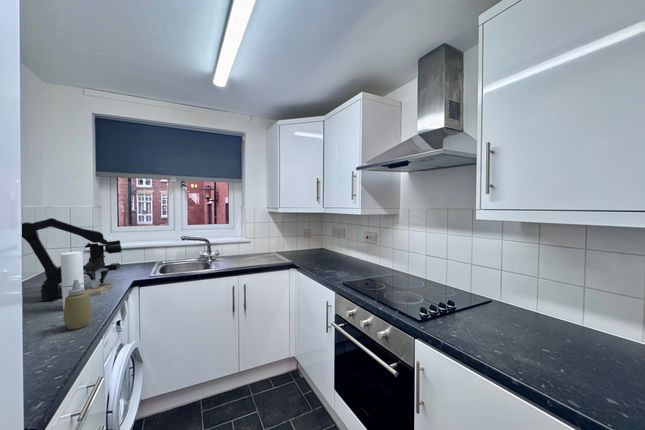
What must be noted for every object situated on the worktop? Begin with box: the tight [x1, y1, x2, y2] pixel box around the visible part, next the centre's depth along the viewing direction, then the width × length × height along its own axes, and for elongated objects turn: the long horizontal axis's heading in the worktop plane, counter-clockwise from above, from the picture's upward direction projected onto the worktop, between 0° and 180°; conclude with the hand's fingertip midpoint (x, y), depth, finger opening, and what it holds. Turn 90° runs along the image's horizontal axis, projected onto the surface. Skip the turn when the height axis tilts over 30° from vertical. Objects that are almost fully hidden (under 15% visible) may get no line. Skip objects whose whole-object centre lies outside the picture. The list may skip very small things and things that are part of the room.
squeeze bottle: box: [63, 280, 93, 330], centre depth 101 cm, size 8×8×18 cm
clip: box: [90, 275, 106, 289], centre depth 142 cm, size 8×3×6 cm, turn 19°
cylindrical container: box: [60, 251, 85, 311], centre depth 119 cm, size 7×7×25 cm
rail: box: [85, 281, 113, 297], centre depth 142 cm, size 14×7×2 cm, turn 19°
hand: (98, 283), depth 142 cm, fingers closed on clip, 3 cm apart
